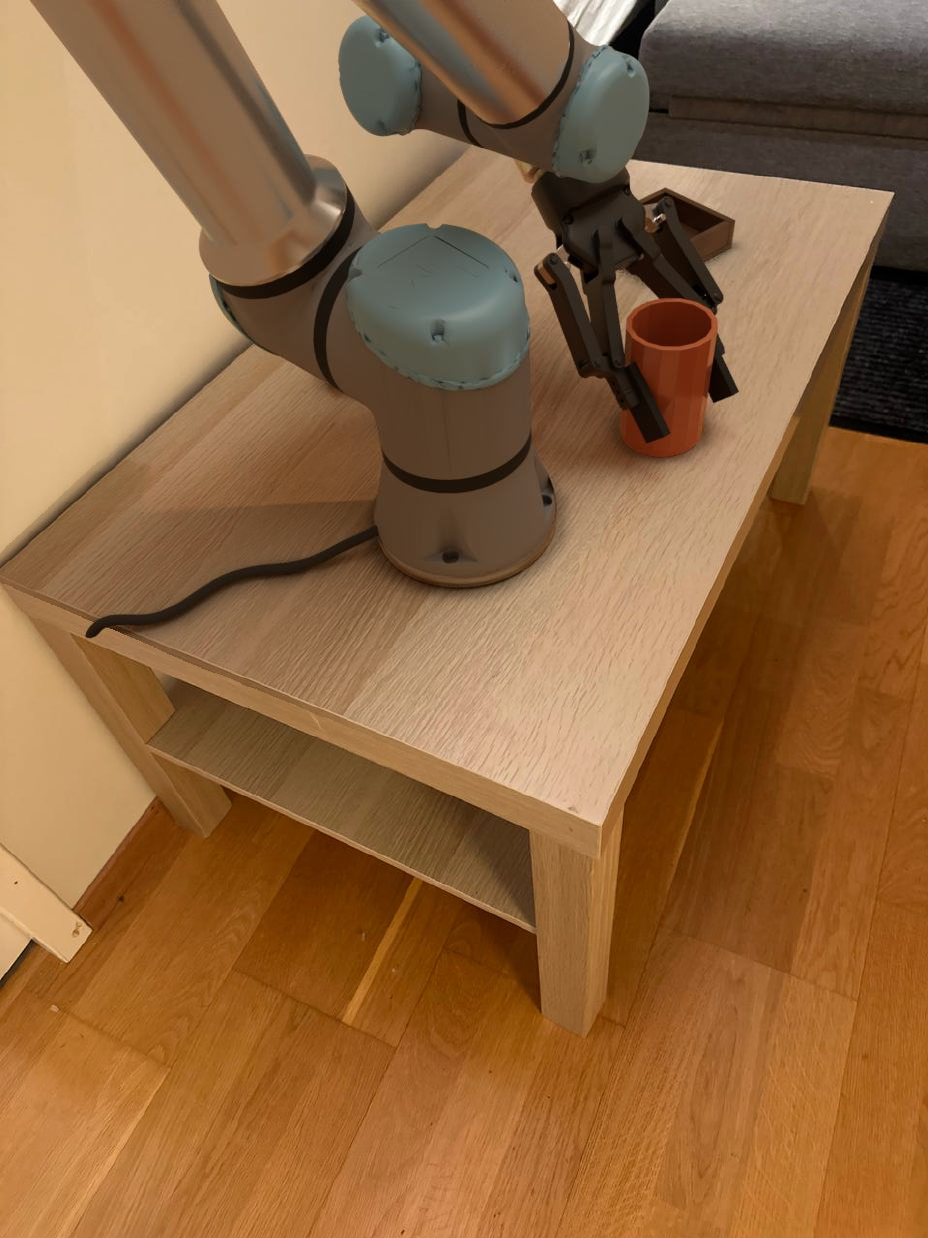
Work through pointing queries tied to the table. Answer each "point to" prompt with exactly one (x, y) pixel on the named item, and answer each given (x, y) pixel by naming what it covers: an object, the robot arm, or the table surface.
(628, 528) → the table surface
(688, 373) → the pencil cup
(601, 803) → the table surface
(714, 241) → the tray
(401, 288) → the robot arm
